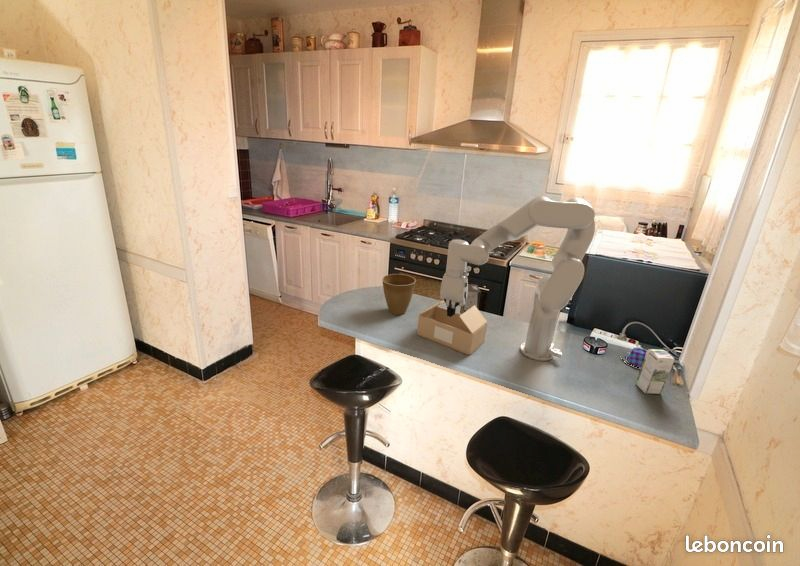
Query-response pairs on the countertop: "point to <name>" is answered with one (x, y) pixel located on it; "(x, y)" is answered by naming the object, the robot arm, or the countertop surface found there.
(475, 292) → the coffee box
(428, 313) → the carton
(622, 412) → the countertop surface
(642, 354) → the purple plaid hat
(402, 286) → the plant pot
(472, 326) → the near flap
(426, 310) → the far flap
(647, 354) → the syrup box
